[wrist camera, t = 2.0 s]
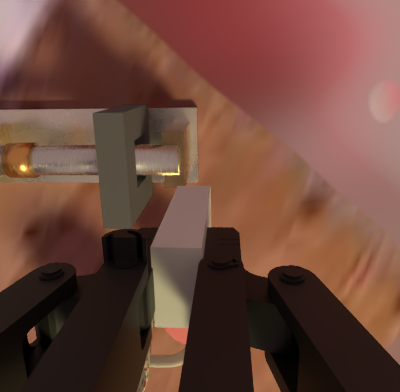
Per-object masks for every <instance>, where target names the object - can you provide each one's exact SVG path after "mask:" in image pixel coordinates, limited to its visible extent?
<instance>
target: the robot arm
mask: <svg viewBox="0 0 400 392" xmlns="http://www.w3.org/2000/svg"><path fill="white" fill-rule="evenodd" d="M102 246H103V256H104V263H103V265H102V266H101V268H100V270H99V271H98V273H96V274H91V275H84V276H76V268H75V267H74V266H73V265H70V264H67V263H54V264H53V263H50V264H47V265H45V266H42V267H39V268H37V269H35V270H33V271H32V272H30V273H29V274H27V275H26V276H24V277H23V278H21V279H20V280H18V281H17V282H15V283H14V284H12V285H11V286H9V287H8V288H6V289H5V290H3V291H2V292H0V392H137V389H138V386H139V382H140V378H141V375H142V371H143V368H144V364H145V361H146V357H147V354H148V350H149V347H150V343H151V339H152V325H151V322H152V319H153V316H154V318H155V327H168V328H188V334H187V341H186V347H185V353H184V360H183V366H182V372H181V379H180V385H179V392H254V388H253V376H252V364H251V352H250V347H253V348H256V349H260V350H264V351H265V358H266V361H267V363H268V365H269V367H270V370H271V372H272V374H273V376H274V378H275V380H276V382H277V384H278V386H279V388H280V391H281V392H400V365H399V364H398V363H397V362H396V361H395V360H394V359H393V358H392V357H391V355H390V354H389V353H388V352H387V351H386V350H385V349H384V348H383V347H382V346H381V345H380V344H379V343H378V342H377V340H376V339H375V338H374V337H373V336H372V335H371V334H370V333H369V332H368V331H367V330H366V329H365V328H364V327H363V325H362V324H361V323H360V322H359V321H358V320H357V319H356V318H355V317H354V316H353V315H352V314H351V313H350V312H349V310H348V309H347V308H346V307H345V306H344V305H343V304H342V303H341V302H340V301H339V300H338V299H337V298H336V297H335V296H334V294H333V293H332V292H331V291H330V290H329V289H328V288H327V287H326V286H325V285H324V284H323V283H322V282H321V281H320V279H319V278H318V277H317V276H316V275H315V274H313V273H312V272H311V271H309V270H307V269H304V268H302V267H299V266H293V265H289V266H280V267H276V268H274V269H272V270H270V272H269V274H268V278H266V277H261V276H257V275H254V274H252V273H249V272H248V271H246V270H245V269H244V267H243V263H242V261H241V250H240V237H239V232H238V231H236V230H235V229H234V228H222V227H211V186H178V187H177V189H176V191H175V193H174V196H173V198H172V200H171V202H170V204H169V207H168V209H167V211H166V213H165V216H164V218H163V220H162V222H161V225H160V227H159V228H141V229H139V230H135V229H120V230H116V231H112V232H109V233H107V234H105V235H104V236H103V237H102ZM34 326H35V330H36V336H37V339H36V340H35V341H34V342H33V343H31V344H29V343H28V338H27V333H28V332H29V331H30V329H32V328H33V327H34Z"/></svg>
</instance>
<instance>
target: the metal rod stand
mask: <svg viewBox="0 0 400 392" xmlns="http://www.w3.org/2000/svg"><path fill="white" fill-rule="evenodd" d="M106 109H110V108H71V109H0V182H99V176H98V166H97V156H96V145H95V135H94V125H93V114H92V113H95V112H98V111H102V110H106ZM148 117H149V136H150V144H137V145H135V158H136V173H137V175H152V182H164V183H165V188H177V187H178V186H186V183H187V182H198V181H199V177H198V118H197V107H160V108H148Z"/></svg>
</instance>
